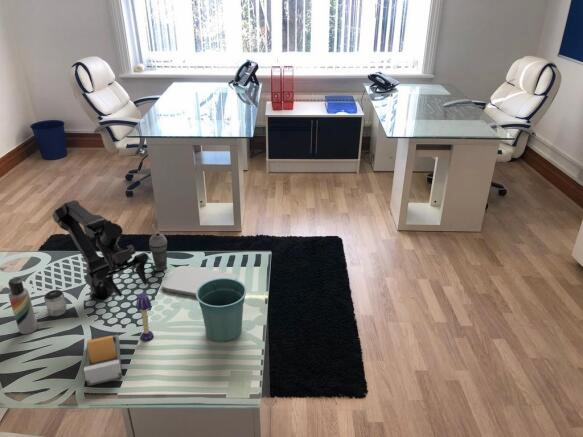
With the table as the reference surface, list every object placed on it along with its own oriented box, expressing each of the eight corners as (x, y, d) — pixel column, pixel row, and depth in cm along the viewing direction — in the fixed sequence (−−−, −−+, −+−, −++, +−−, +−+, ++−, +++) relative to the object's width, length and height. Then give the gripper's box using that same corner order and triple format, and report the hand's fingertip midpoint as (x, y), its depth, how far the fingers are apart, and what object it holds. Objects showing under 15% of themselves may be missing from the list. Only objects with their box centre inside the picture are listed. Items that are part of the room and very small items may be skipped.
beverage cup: (165, 273, 194) (160, 229, 185) (149, 271, 195) (142, 227, 186) (173, 263, 200) (168, 221, 191) (157, 261, 201) (151, 219, 192)
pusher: (91, 360, 148) (86, 340, 144) (115, 355, 150) (112, 335, 147) (91, 363, 147) (86, 343, 143) (116, 357, 149) (112, 337, 146)
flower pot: (190, 326, 165) (187, 288, 157) (231, 309, 174) (230, 272, 166) (214, 353, 153) (211, 313, 146) (257, 333, 162) (256, 294, 155)
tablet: (223, 303, 177) (222, 298, 176) (159, 291, 183) (159, 286, 182) (238, 279, 192) (238, 274, 190) (179, 269, 197) (178, 264, 196)
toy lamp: (148, 330, 163) (142, 290, 155) (158, 335, 161) (152, 294, 153) (137, 338, 159) (131, 297, 151) (148, 343, 157) (141, 302, 149)
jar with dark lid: (68, 313, 170) (64, 295, 166) (49, 319, 167) (44, 300, 163) (65, 304, 175) (61, 286, 171) (47, 309, 172) (42, 291, 168)
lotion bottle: (23, 323, 165) (9, 275, 155) (40, 323, 165) (27, 274, 156) (16, 334, 159) (1, 285, 150) (34, 334, 160) (19, 284, 151)
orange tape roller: (88, 346, 155) (84, 331, 152) (119, 339, 158) (116, 325, 155) (87, 386, 140) (83, 371, 137) (121, 378, 143) (119, 363, 140)
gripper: (88, 251, 149) (113, 293, 146) (141, 230, 161) (165, 269, 159) (82, 265, 157) (105, 305, 155) (133, 245, 169) (155, 282, 167)
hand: (133, 290), depth 158 cm, fingers open, 9 cm apart
